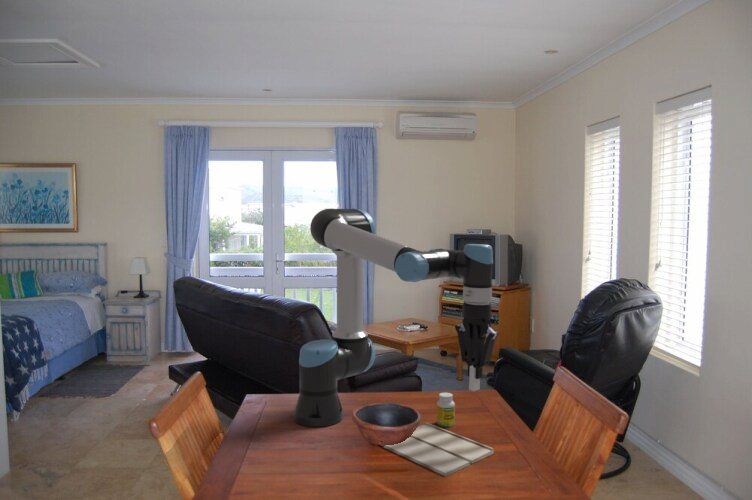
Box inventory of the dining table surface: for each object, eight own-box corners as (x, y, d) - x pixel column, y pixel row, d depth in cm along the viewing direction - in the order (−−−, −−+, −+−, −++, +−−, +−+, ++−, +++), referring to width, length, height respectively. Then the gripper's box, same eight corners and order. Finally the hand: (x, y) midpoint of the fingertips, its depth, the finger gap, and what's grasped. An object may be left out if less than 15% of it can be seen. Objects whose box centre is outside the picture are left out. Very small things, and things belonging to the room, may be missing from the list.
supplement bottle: (447, 421, 168) (448, 390, 168) (458, 427, 164) (458, 395, 163) (433, 424, 166) (433, 393, 165) (443, 430, 161) (443, 398, 161)
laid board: (377, 447, 149) (378, 441, 149) (403, 437, 156) (403, 432, 156) (445, 479, 131) (445, 473, 131) (471, 466, 138) (471, 461, 138)
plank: (404, 437, 156) (404, 430, 156) (426, 428, 162) (426, 422, 162) (472, 466, 138) (472, 459, 138) (493, 455, 144) (493, 448, 144)
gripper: (449, 300, 148) (446, 386, 150) (488, 307, 138) (485, 399, 140) (466, 297, 153) (464, 381, 155) (506, 304, 143) (503, 393, 145)
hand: (474, 389), depth 148 cm, fingers closed
